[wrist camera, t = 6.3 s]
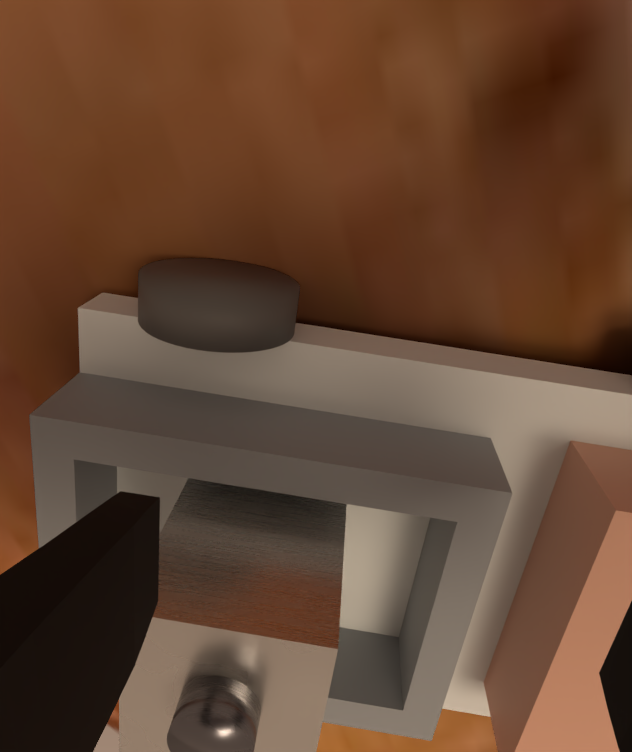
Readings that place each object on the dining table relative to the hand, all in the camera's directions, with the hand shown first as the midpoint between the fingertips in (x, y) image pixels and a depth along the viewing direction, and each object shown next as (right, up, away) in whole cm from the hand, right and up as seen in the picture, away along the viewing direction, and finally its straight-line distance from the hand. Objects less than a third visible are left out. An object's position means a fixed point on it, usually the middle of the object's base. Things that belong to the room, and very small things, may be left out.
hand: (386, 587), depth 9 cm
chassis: (+2, -1, +10) cm, 11 cm away
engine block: (-2, -1, +8) cm, 8 cm away
